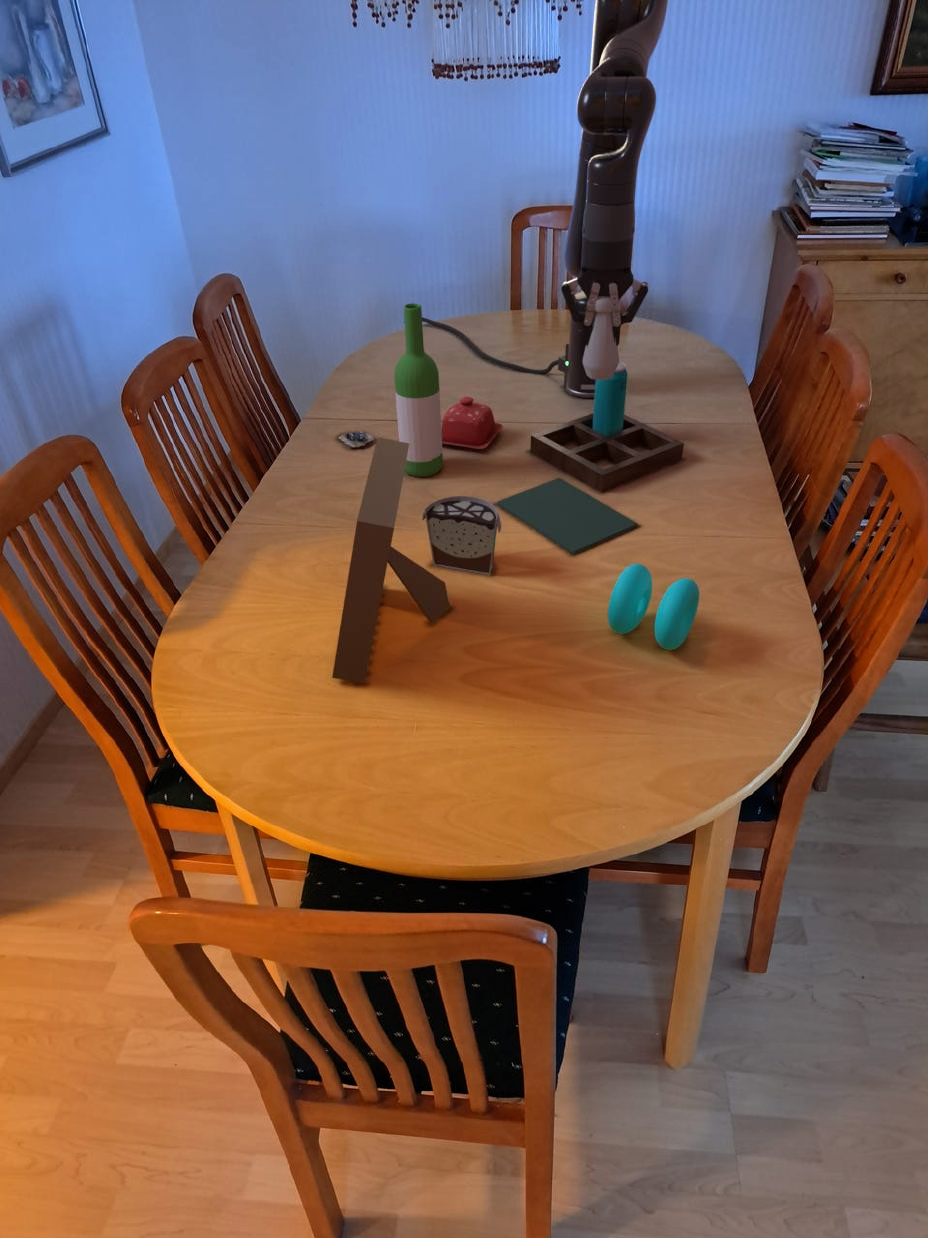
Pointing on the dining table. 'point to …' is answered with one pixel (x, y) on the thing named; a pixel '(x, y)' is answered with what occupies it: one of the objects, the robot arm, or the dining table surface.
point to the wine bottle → (418, 400)
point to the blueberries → (356, 438)
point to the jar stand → (606, 451)
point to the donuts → (634, 601)
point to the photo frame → (379, 564)
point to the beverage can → (610, 402)
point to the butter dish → (469, 425)
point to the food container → (462, 533)
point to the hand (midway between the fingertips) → (600, 346)
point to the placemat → (567, 515)
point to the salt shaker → (601, 343)
